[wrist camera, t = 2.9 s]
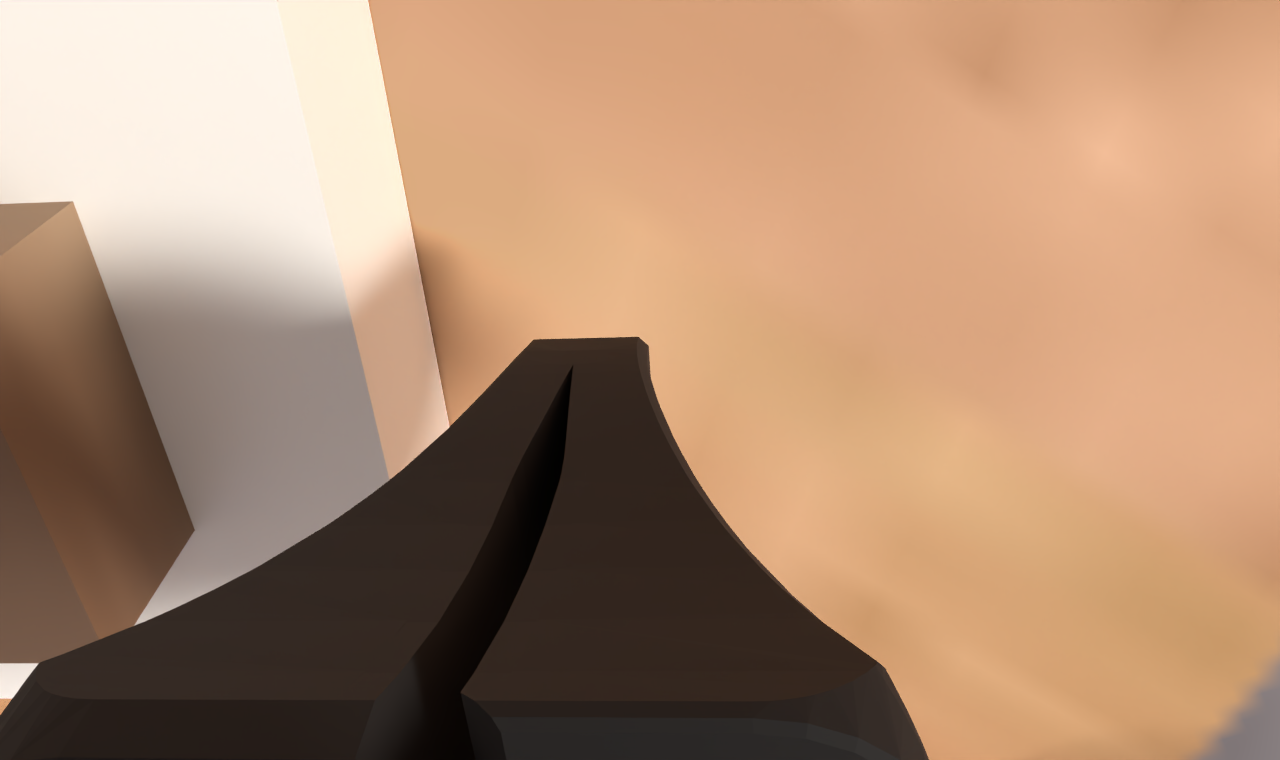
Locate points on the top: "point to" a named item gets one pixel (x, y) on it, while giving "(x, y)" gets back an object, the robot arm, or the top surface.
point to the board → (235, 250)
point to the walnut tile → (73, 449)
